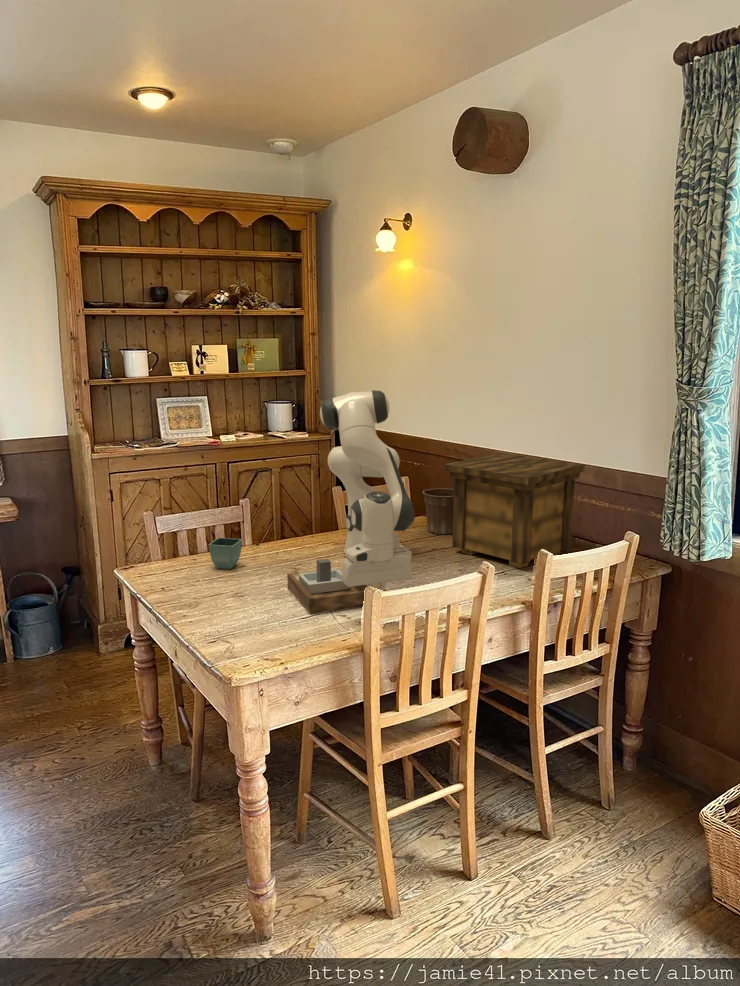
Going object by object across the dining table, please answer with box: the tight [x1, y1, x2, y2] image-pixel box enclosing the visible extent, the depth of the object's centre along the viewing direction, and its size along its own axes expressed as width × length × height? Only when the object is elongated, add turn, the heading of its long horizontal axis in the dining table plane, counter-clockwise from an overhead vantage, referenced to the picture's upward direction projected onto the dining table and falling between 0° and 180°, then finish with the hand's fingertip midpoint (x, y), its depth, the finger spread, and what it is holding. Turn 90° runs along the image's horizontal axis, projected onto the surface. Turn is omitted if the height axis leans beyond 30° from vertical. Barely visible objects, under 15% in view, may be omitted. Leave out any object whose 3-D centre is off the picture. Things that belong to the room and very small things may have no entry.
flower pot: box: [208, 537, 243, 570], centre depth 257 cm, size 9×9×9 cm
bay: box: [287, 573, 367, 615], centre depth 230 cm, size 20×24×5 cm
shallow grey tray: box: [298, 558, 349, 594], centre depth 234 cm, size 13×11×8 cm
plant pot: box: [422, 487, 454, 536], centre depth 303 cm, size 16×16×16 cm
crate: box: [444, 452, 586, 569], centre depth 272 cm, size 35×35×33 cm
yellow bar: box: [366, 583, 389, 591], centre depth 221 cm, size 18×3×2 cm, turn 24°
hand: (377, 597), depth 214 cm, fingers closed
